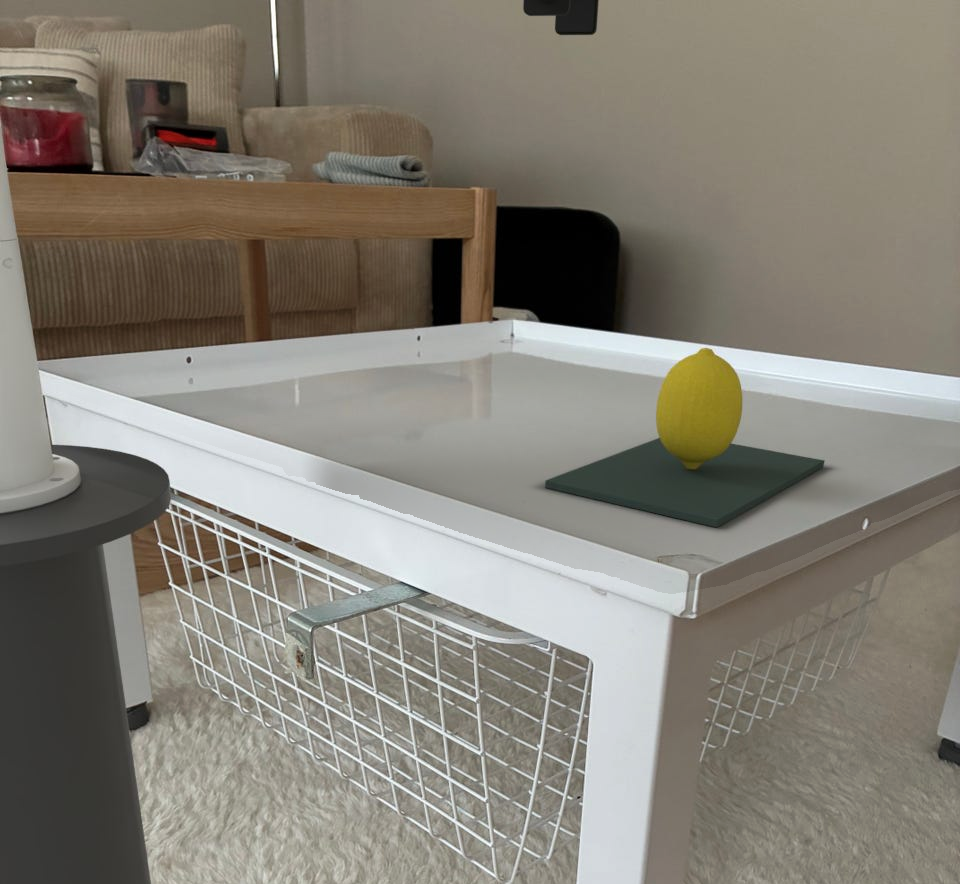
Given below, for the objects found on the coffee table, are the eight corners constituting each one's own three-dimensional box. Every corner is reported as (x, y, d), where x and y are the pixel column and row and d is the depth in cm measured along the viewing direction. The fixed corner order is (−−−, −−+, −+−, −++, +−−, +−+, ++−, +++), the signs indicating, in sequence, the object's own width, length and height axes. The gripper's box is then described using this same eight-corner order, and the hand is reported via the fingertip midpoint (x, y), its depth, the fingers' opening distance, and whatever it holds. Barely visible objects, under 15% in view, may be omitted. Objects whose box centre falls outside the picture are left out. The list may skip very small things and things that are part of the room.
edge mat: (717, 527, 57) (718, 519, 57) (544, 487, 63) (545, 480, 63) (823, 467, 70) (824, 460, 70) (671, 439, 76) (672, 432, 76)
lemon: (732, 484, 63) (751, 357, 60) (646, 476, 65) (659, 351, 61) (733, 463, 68) (750, 344, 65) (653, 456, 69) (666, 339, 66)
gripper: (552, -226, 73) (539, 41, 81) (486, -333, 58) (478, 7, 65) (653, -234, 71) (630, 40, 79) (612, -346, 56) (589, 5, 64)
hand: (561, 25), depth 72 cm, fingers open, 9 cm apart
